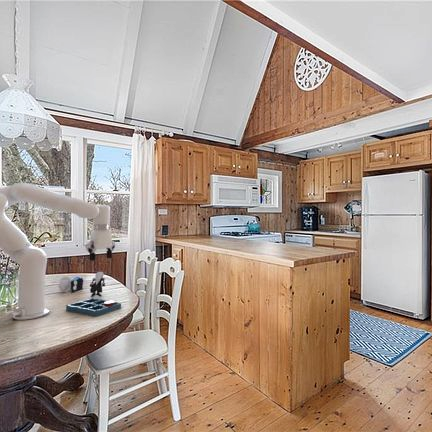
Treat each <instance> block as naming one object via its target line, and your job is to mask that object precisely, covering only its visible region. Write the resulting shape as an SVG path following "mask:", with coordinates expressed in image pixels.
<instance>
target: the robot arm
mask: <svg viewBox="0 0 432 432" xmlns="http://www.w3.org/2000/svg"><path fill="white" fill-rule="evenodd" d="M22 202H25V203H28V204H32V205H35V206H37V207H42V208H45V209H48V210H53V211H56V212H65V213H69V214H73V215H76V216H77V217H78V218H81V219H90V220H91V219H93V229H92V230H91V231H90V232H91V233H90V237H89V242H88V243H86V244H85V245H84V247H85V249H86V251H87V252H88V253H89V261H93V262H94V261H96V251H97V250H103V249H106V259H112V258H113V256H112V255H113V251H114V249H115V248H116V245H117V242H116V241H114V240H113V238H112V230H111V228H112V225H111V206H110V205H108V204H94V203H91V202H89V201H85V200H82V199H80V198H76V197H72V196H69V195H66V194H64V193H60V192H57V191H53V190H50V189H48V188H44V187H42V186H38V185H35V184H33V183H29V182H17V183H15V184H12V185H11V184H10V185H8V186H5V187H0V249H1V250H2V251H3V252H4V254H6V255H8V256H9V258H11V259H12V260H13V261H14V262H15V263H16V264H18V265H19V271H18V287H17V288H18V289H17V290H18V291H17V293H18V294H17V307H15V308H14V309H13V310H12V311H11V310H10V311H7V312H4V317H5V318H7V317H12V318H13V319H14V320H19V321H21V320H32V319H37V318H41V317H45V316H46V315H48V314H49V313H50V310H49V309H47V308H46V307H45V306H46V301H45V300H46V271H47V264H48V255H47V253H46V252H45V250H43V249H42V248H39V247H36V246H34V245H33V244H32V243H31V242H30V241H29V240H28V237H27V235H26V234H25V233H24V232H23V231H21V230H20V229H19V228H18V226H16V225H15V224H14V222H12V221H11V219H10V218H9V217H8V216H7V215H6V213H5V210H6V208H7V207H10V206H14V205H16V204H19V203H22Z"/></svg>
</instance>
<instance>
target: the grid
mask: <svg viewBox="0 0 432 432" xmlns="http://www.w3.org/2000/svg"><path fill="white" fill-rule="evenodd" d="M106 301H107V299H106V300H105V299H100V298H94V297H91V298H88V299H84V300H81V301H77V302H74V303H69V304H66V305H65V311H66V312H70V313H71V312H72V313H77V314H81V315H86V316H90V317H94V318H95V317H98V316H102V315H105V314H108V313H112V312H114V311H117V310H120V309H122V302H117V301H115V305H112V306H109V307H108V306H104V302H106Z"/></svg>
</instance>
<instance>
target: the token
mask: <svg viewBox="0 0 432 432" xmlns="http://www.w3.org/2000/svg"><path fill="white" fill-rule="evenodd" d="M115 302H116V301H115V300H106V302H104V306H108V307H109V306H112V305H115Z"/></svg>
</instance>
